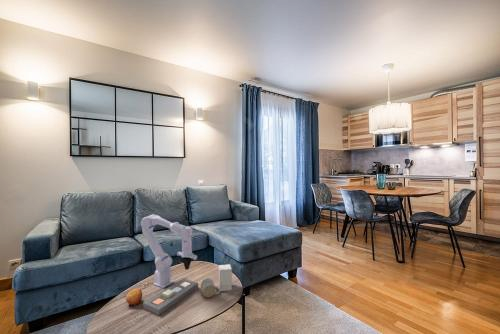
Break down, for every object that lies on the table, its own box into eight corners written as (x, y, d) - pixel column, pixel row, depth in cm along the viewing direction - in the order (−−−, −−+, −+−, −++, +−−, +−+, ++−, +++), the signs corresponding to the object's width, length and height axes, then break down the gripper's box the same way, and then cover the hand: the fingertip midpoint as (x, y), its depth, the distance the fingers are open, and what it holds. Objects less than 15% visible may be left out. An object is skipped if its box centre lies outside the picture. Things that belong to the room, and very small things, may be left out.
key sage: (162, 296, 126) (162, 293, 126) (168, 292, 130) (168, 289, 130) (167, 298, 124) (167, 295, 124) (174, 294, 128) (174, 291, 128)
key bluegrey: (171, 293, 132) (171, 290, 131) (177, 289, 135) (177, 286, 135) (176, 295, 129) (176, 292, 129) (182, 291, 133) (182, 288, 133)
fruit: (148, 295, 129) (142, 287, 125) (139, 310, 123) (132, 301, 119) (137, 293, 132) (131, 284, 128) (127, 307, 125) (120, 298, 121)
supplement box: (231, 290, 137) (231, 269, 137) (219, 291, 135) (219, 270, 135) (230, 283, 144) (230, 263, 144) (218, 285, 143) (218, 264, 142)
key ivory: (179, 288, 137) (179, 284, 137) (185, 284, 141) (185, 281, 141) (185, 290, 135) (185, 286, 135) (190, 286, 139) (190, 283, 139)
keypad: (142, 308, 120) (142, 302, 120) (183, 283, 145) (183, 278, 145) (158, 315, 114) (158, 309, 114) (198, 287, 139) (198, 283, 139)
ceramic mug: (202, 299, 127) (203, 286, 127) (200, 292, 135) (200, 279, 135) (221, 296, 131) (221, 282, 131) (218, 288, 139) (218, 276, 139)
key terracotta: (151, 306, 120) (151, 302, 120) (158, 301, 124) (158, 297, 124) (157, 308, 118) (157, 304, 118) (164, 303, 122) (164, 300, 122)
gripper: (173, 247, 142) (173, 269, 142) (191, 251, 135) (191, 274, 135) (181, 243, 148) (182, 264, 148) (199, 247, 141) (199, 269, 141)
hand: (187, 268), depth 142 cm, fingers closed
